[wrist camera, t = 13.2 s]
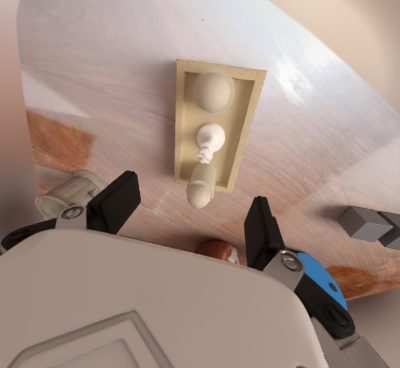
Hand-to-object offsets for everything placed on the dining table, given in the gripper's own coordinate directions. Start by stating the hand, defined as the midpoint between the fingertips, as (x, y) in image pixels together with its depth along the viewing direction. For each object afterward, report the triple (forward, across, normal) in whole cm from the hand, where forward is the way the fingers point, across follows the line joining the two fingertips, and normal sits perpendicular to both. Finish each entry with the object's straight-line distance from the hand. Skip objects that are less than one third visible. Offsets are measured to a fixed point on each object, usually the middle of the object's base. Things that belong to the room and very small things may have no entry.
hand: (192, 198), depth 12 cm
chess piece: (+18, 0, 0) cm, 18 cm away
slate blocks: (+19, -34, +12) cm, 41 cm away
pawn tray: (+18, +1, 0) cm, 18 cm away
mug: (+18, +28, +18) cm, 37 cm away
